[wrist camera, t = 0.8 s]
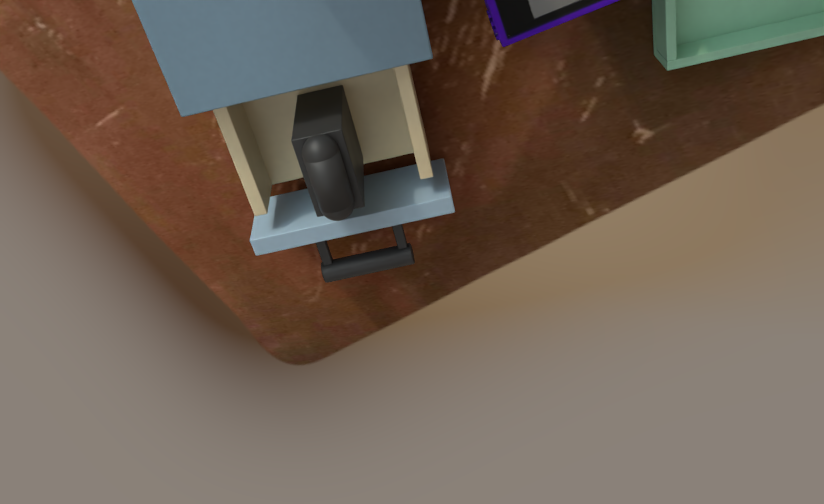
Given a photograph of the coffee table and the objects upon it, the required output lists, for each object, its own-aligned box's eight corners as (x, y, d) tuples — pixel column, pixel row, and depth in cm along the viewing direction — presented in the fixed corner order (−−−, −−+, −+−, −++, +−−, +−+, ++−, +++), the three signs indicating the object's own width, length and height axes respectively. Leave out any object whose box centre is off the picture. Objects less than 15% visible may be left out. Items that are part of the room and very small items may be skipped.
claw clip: (296, 93, 47) (288, 151, 40) (342, 82, 46) (341, 139, 40) (320, 168, 49) (316, 232, 43) (363, 158, 49) (365, 222, 43)
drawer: (458, 225, 54) (467, 266, 50) (282, 263, 55) (276, 307, 51) (397, -52, 43) (403, -28, 39) (180, 1, 44) (163, 30, 40)
